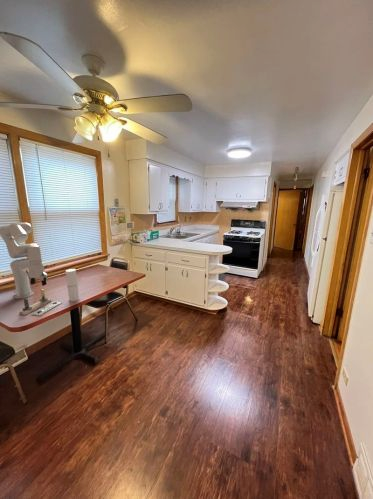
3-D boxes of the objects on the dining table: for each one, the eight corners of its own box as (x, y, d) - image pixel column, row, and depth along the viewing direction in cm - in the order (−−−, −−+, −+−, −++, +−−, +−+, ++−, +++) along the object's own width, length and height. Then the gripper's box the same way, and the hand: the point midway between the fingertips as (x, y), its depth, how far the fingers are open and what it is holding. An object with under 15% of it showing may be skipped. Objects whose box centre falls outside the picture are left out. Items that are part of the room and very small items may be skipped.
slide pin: (39, 300, 163) (37, 290, 161) (42, 299, 166) (41, 288, 164) (44, 301, 162) (43, 290, 160) (48, 299, 165) (46, 289, 163)
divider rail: (19, 314, 148) (17, 301, 145) (45, 300, 169) (44, 289, 167) (25, 315, 147) (23, 302, 145) (51, 301, 168) (49, 289, 166)
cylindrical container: (67, 300, 169) (63, 271, 164) (74, 296, 176) (71, 268, 171) (73, 301, 167) (70, 272, 162) (80, 298, 174) (77, 269, 168)
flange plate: (31, 314, 147) (31, 313, 147) (54, 302, 166) (54, 301, 166) (40, 316, 146) (39, 314, 145) (61, 303, 165) (61, 301, 164)
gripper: (20, 262, 148) (24, 285, 152) (41, 264, 145) (44, 287, 148) (30, 260, 155) (33, 281, 159) (50, 261, 152) (52, 283, 156)
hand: (38, 284), depth 154 cm, fingers open, 9 cm apart
